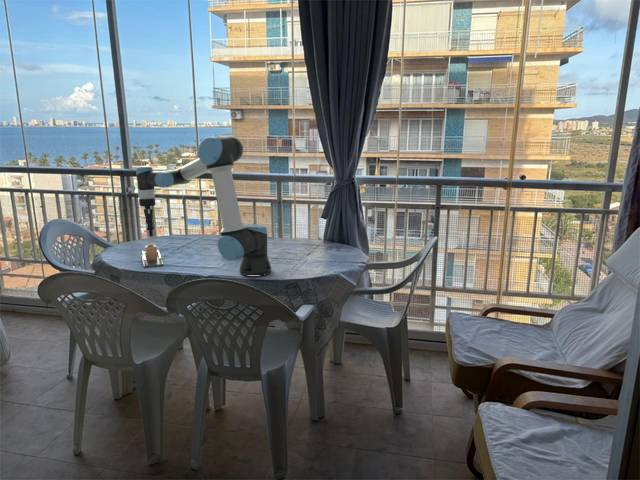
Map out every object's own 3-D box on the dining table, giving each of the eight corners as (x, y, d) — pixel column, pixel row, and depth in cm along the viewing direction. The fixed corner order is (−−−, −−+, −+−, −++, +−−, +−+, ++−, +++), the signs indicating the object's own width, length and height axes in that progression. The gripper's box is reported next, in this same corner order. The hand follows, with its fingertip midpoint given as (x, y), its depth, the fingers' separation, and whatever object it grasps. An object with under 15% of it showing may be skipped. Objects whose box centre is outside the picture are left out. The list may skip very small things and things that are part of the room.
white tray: (163, 265, 218) (162, 259, 217) (143, 267, 215) (143, 260, 214) (159, 254, 236) (159, 248, 235) (141, 256, 232) (141, 250, 231)
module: (157, 259, 224) (156, 245, 222) (146, 260, 222) (145, 246, 220) (156, 257, 228) (155, 243, 226) (146, 258, 226) (145, 244, 224)
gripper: (157, 201, 207) (160, 244, 213) (153, 193, 230) (156, 233, 235) (139, 202, 204) (144, 246, 210) (137, 194, 227) (141, 234, 232)
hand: (150, 239), depth 222 cm, fingers open, 13 cm apart
